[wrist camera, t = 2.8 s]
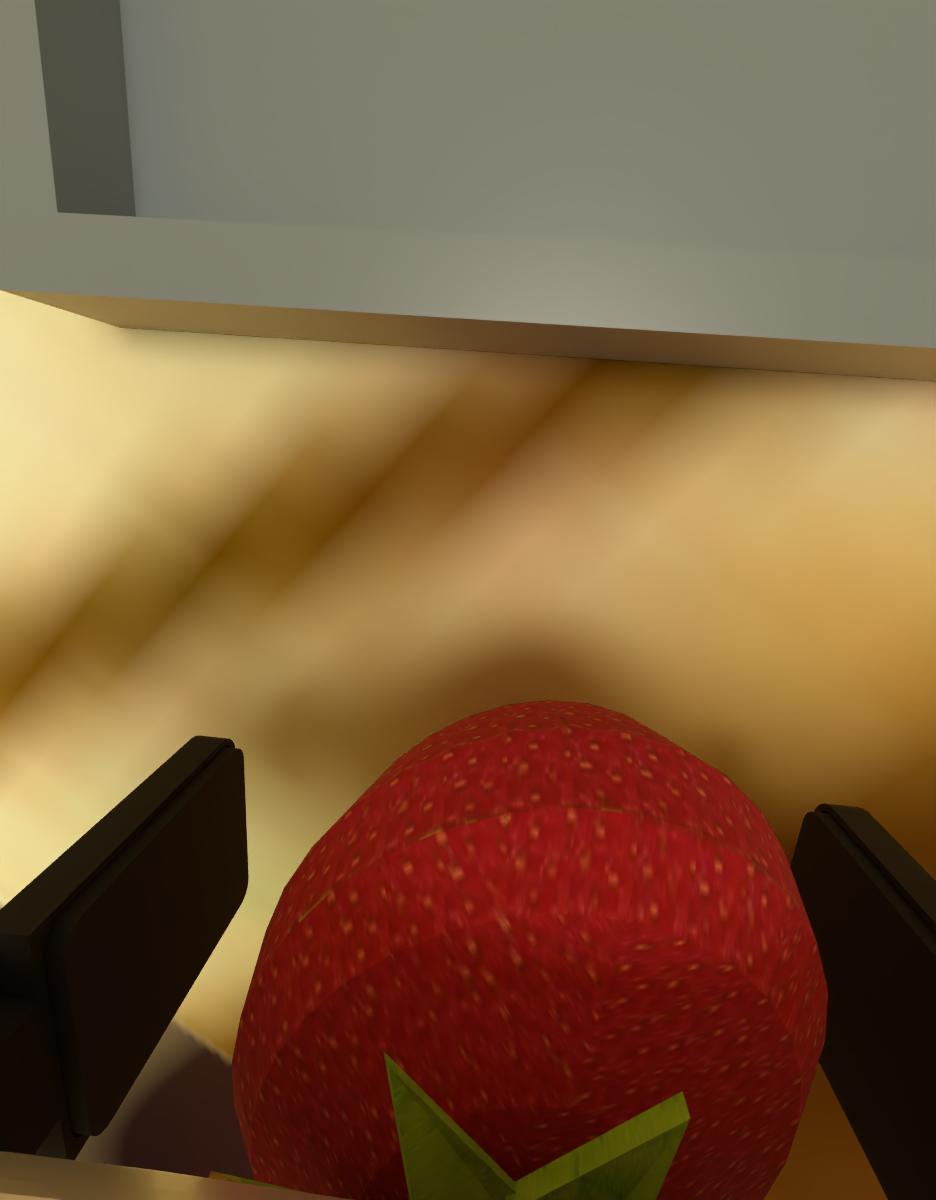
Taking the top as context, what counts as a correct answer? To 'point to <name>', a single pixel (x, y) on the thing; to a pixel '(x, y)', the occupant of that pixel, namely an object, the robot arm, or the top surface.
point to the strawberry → (534, 979)
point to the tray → (484, 174)
